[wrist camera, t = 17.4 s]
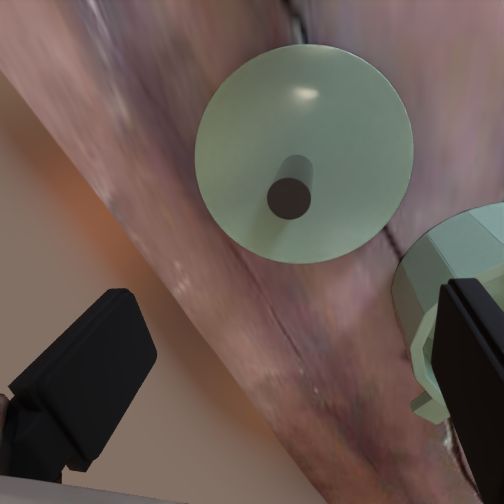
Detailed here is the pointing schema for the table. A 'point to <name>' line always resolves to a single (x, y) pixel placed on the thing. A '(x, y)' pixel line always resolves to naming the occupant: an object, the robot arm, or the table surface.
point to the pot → (439, 272)
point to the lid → (304, 153)
